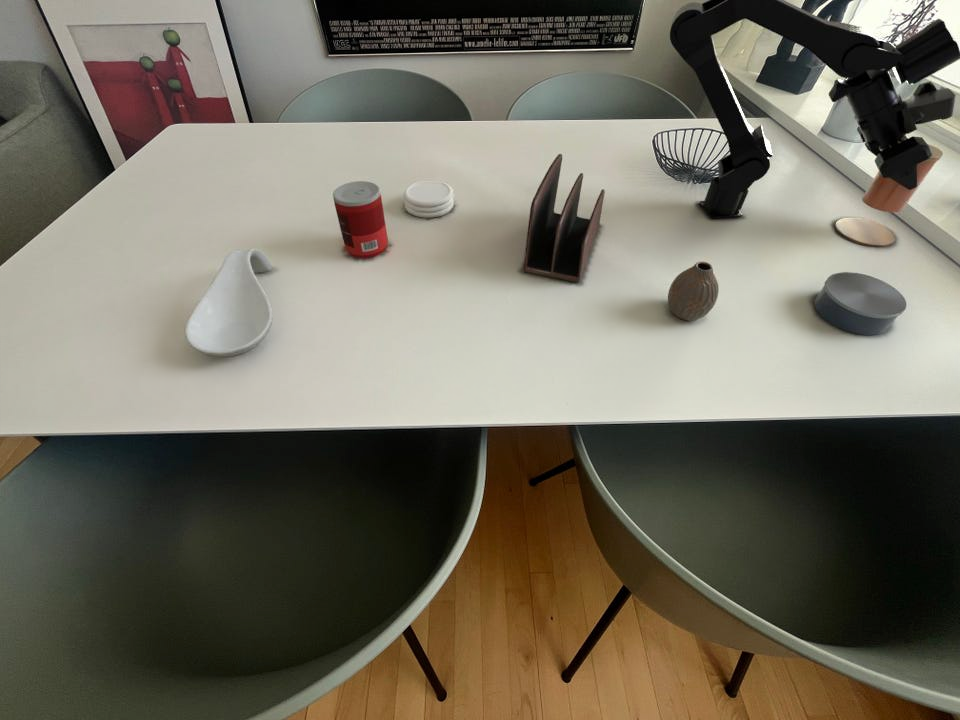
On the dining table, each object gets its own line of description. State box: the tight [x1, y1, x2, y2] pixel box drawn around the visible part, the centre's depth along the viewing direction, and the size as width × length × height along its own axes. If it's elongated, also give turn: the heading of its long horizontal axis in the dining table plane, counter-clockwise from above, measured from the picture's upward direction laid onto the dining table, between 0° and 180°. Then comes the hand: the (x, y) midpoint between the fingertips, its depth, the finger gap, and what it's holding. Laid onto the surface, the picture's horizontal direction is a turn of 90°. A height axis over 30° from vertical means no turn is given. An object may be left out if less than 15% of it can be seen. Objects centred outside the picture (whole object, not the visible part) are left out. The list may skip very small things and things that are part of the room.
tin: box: [813, 271, 907, 336], centre depth 74 cm, size 11×11×4 cm
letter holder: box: [522, 153, 606, 283], centre depth 83 cm, size 10×20×14 cm, turn 160°
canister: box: [861, 141, 944, 213], centre depth 85 cm, size 7×7×10 cm
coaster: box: [403, 179, 455, 219], centre depth 98 cm, size 10×10×4 cm
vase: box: [667, 261, 720, 321], centre depth 73 cm, size 7×7×9 cm
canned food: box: [332, 180, 389, 260], centre depth 84 cm, size 8×8×11 cm
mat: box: [834, 216, 896, 248], centre depth 92 cm, size 10×10×1 cm
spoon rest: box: [184, 248, 273, 357], centre depth 73 cm, size 24×12×7 cm, turn 9°
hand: (907, 179), depth 84 cm, fingers closed on canister, 6 cm apart
